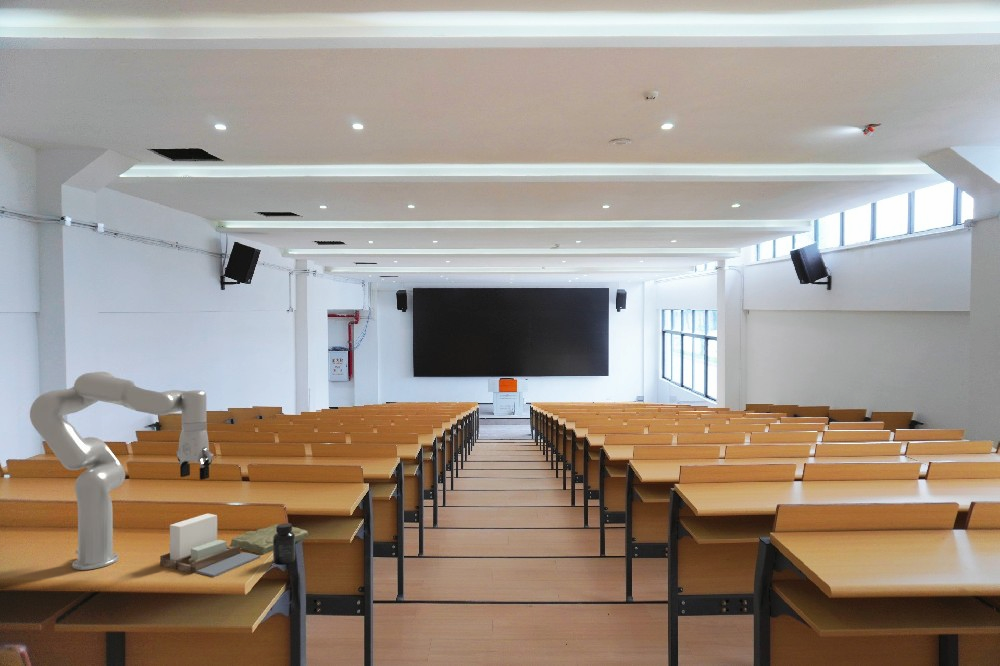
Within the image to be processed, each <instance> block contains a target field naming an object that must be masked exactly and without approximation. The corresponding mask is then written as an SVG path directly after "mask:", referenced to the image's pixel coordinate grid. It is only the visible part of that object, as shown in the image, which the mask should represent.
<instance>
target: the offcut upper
mask: <svg viewBox="0 0 1000 666" xmlns="http://www.w3.org/2000/svg"><path fill="white" fill-rule="evenodd" d="M226 546H227V541H226V540H222V539H217V540H216V541H213V542H210V543H207V544H204V545H200V546H197V547H194V548H191V558H193V559H196V560H200V559H203V558H206V557H208V556H211V555H214V554H217V553H220V552H222V551H225V550H226Z"/></svg>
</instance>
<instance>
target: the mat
mask: <svg viewBox="0 0 1000 666" xmlns="http://www.w3.org/2000/svg"><path fill="white" fill-rule="evenodd" d="M260 558H261V555H260V554H259V555H258V554H253V553H250V552H244V551H243V552H240V554H238V555H235V556H233V557H230V558H228V559H225V560H223V561H220V562H218V563H215V564H212V565H210V566H207V567H205V568H202V569H200V570H197V572H196V574H200V575H204V576H209V577H212V578H215V577H217V576H219V575H222V574H225V573H227V572H229V571H231V570H234V569H236V568H238V567H241V566H244V565H245V564H249V563H250V562H253V561H255V559H256V560H258V559H260Z"/></svg>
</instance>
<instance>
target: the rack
mask: <svg viewBox="0 0 1000 666" xmlns="http://www.w3.org/2000/svg"><path fill="white" fill-rule="evenodd" d="M226 549H227V550H225V551H222V552H220V553H217V554H214V555H212V556H209V557H206V558H204V559H201V560H199V561H196V562H193V563H191V565H189V559H191V555H189V556H186V557H183V558H180V559H178V560H176V561H173V560H170V552H168V553H165V554H162V555H160V556H159V558H160V559H159V560H160V561H159V562H160V563H159V564H160V566H162V567H166V568H170V569H173V570H177V571H182V572H186V573H189V574H195V573H197V570H200V569H202V568H205V567H207V566H210V565H212V564H215V563H218V562H220V561H223V560H225V559H228V558H230V557H233V556H235V555H238V554H240V553H241V549H240V546H239V545H238V546H235V547H233V546H231V545H226Z"/></svg>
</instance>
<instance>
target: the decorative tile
mask: <svg viewBox="0 0 1000 666" xmlns="http://www.w3.org/2000/svg"><path fill="white" fill-rule="evenodd" d="M277 525H279V523H278V524H273V525H271V526H268V527H266V528H259V529H256V530H250V531H246V532H245V533H242V534H239V535H238V536H236V537H233V538H232V539H231V541H230V547H233V546H234V547H235V546H238V545H239V546H240V548H241V549H240V550H244V549H245V550H244V551H248V552H252V551H253V553H256V552H257V553H256V554H261V555H266V554H268V553H270V552H273V537H274V535H275V534H276V533H277V532H276V527H277ZM292 532H293V533H294V534H295V543H297V542H298V541H301V540H304V539H306V538H309V537H308V536H309V533H308V530H305V529H301V528H299V527H294V526H292Z"/></svg>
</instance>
